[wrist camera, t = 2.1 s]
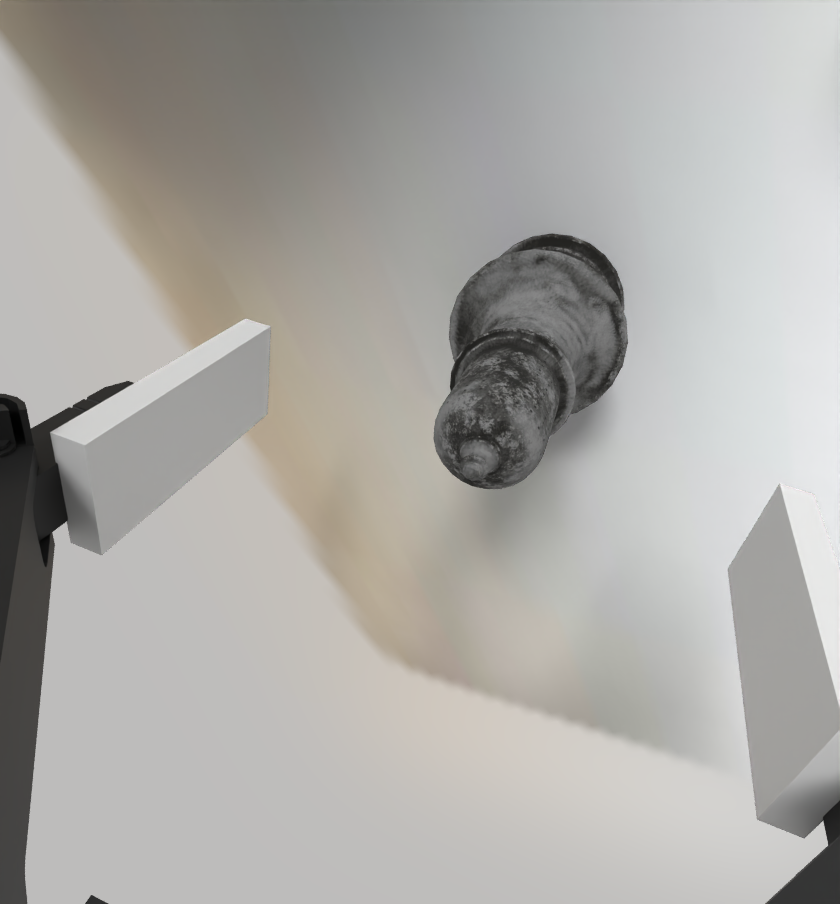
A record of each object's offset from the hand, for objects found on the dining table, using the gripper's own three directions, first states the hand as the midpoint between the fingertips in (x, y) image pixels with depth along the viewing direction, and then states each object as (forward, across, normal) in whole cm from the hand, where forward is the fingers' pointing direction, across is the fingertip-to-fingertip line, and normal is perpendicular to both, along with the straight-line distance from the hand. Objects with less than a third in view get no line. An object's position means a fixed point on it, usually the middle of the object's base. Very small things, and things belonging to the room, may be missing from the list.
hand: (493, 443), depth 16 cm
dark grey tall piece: (+10, 0, +1) cm, 10 cm away
